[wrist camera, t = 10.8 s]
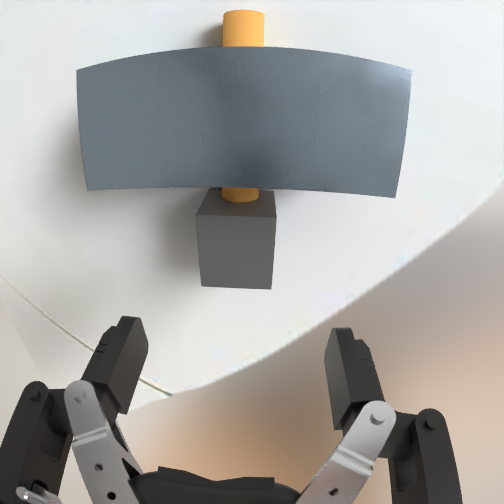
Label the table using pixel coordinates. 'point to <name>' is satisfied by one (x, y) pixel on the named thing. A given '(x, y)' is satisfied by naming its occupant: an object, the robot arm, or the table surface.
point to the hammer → (238, 204)
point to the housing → (244, 120)
